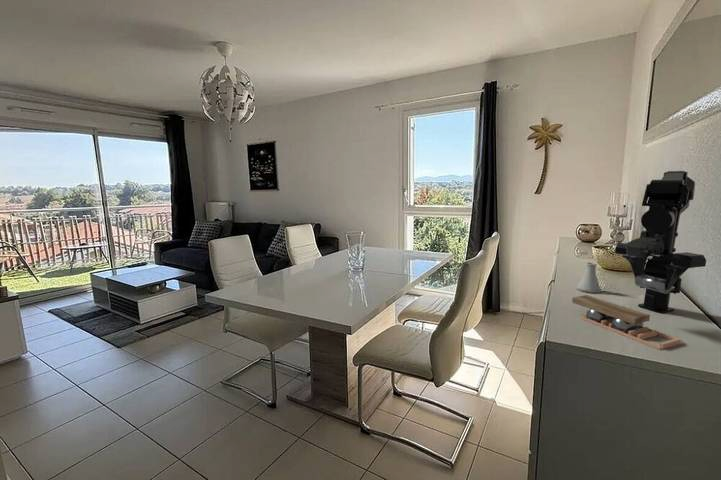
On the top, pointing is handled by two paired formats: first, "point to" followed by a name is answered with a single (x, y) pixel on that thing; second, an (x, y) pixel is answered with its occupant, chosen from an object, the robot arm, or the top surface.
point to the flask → (589, 280)
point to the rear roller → (597, 316)
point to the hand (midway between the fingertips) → (652, 285)
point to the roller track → (639, 334)
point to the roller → (651, 283)
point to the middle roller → (625, 325)
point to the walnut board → (611, 309)
